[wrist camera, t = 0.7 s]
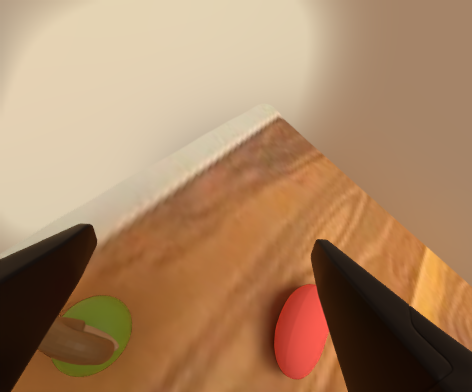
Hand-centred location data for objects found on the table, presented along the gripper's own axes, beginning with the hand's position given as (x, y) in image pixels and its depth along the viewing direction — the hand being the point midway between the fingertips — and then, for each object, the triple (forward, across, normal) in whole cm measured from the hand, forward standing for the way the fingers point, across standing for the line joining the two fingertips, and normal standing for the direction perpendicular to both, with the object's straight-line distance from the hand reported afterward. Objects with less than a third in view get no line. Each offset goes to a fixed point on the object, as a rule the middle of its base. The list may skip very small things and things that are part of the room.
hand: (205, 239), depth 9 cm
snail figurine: (+4, +10, +15) cm, 19 cm away
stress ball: (+8, -9, +19) cm, 22 cm away
